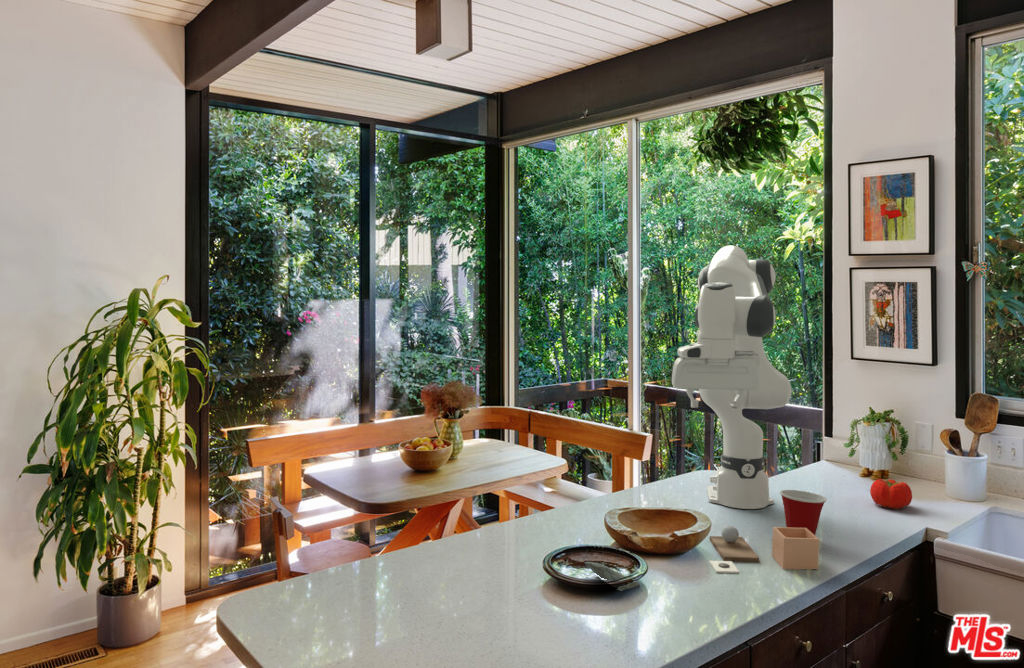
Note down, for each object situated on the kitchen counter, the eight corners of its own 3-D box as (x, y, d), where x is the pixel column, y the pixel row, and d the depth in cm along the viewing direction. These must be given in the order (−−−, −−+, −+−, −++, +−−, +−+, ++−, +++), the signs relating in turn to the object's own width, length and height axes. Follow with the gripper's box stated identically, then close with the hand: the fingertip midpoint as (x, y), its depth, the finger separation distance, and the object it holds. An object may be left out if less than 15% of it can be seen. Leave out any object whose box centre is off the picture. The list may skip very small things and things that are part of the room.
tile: (709, 562, 163) (709, 559, 163) (731, 563, 163) (731, 560, 163) (715, 572, 157) (716, 570, 157) (738, 573, 157) (738, 570, 157)
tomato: (918, 507, 207) (919, 482, 207) (898, 514, 201) (899, 487, 200) (881, 498, 216) (883, 474, 215) (862, 504, 210) (863, 479, 209)
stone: (605, 574, 158) (573, 570, 153) (611, 557, 159) (578, 553, 153) (639, 596, 150) (606, 593, 144) (645, 577, 150) (612, 574, 144)
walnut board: (709, 540, 178) (709, 536, 178) (741, 540, 177) (742, 536, 177) (723, 561, 164) (723, 556, 164) (759, 562, 163) (759, 557, 163)
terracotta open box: (771, 556, 167) (772, 527, 167) (805, 557, 167) (806, 527, 166) (783, 569, 159) (784, 538, 159) (818, 569, 159) (819, 539, 159)
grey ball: (719, 539, 176) (720, 523, 175) (736, 539, 175) (736, 523, 175) (723, 544, 172) (724, 528, 171) (740, 545, 171) (741, 528, 171)
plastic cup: (835, 545, 175) (837, 497, 174) (802, 551, 171) (804, 502, 170) (800, 531, 185) (802, 486, 184) (768, 536, 181) (770, 490, 180)
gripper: (756, 349, 173) (754, 406, 173) (671, 348, 173) (669, 405, 174) (764, 352, 166) (762, 410, 167) (675, 350, 167) (674, 409, 168)
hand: (714, 407), depth 171 cm, fingers open, 8 cm apart
